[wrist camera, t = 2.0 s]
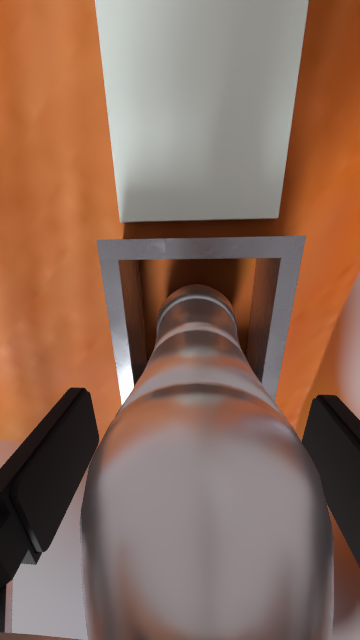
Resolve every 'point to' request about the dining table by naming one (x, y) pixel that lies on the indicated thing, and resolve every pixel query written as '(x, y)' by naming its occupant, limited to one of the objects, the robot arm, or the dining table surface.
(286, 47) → the mat
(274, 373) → the steel collar
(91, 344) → the dining table surface
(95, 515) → the plastic bottle
